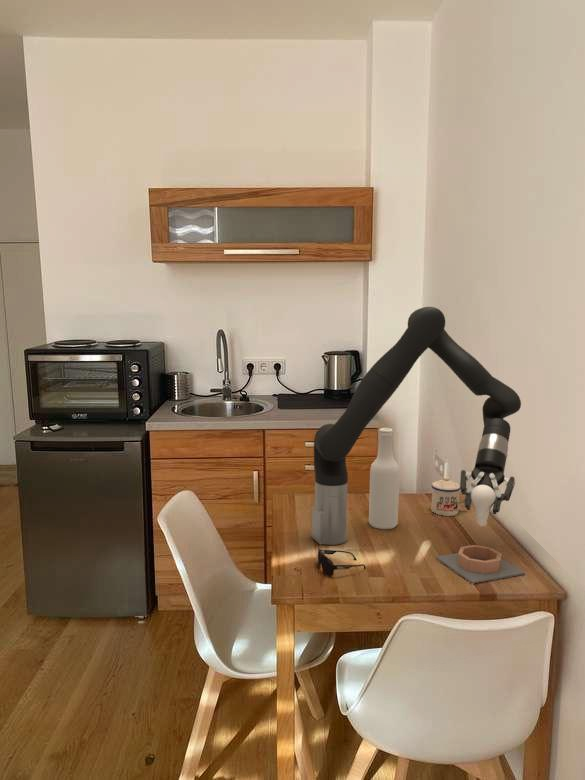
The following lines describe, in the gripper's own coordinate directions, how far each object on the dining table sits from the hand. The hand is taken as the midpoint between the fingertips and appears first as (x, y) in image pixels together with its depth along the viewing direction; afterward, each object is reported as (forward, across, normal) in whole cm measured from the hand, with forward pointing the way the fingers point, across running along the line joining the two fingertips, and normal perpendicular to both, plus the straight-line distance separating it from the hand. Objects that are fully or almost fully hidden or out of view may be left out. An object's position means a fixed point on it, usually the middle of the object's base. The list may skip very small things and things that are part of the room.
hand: (481, 510), depth 163 cm
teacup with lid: (-16, -17, +39) cm, 46 cm away
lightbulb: (+2, 0, +5) cm, 5 cm away
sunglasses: (+23, -32, 0) cm, 39 cm away
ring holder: (+10, 0, +12) cm, 16 cm away
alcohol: (-2, -32, +24) cm, 40 cm away
